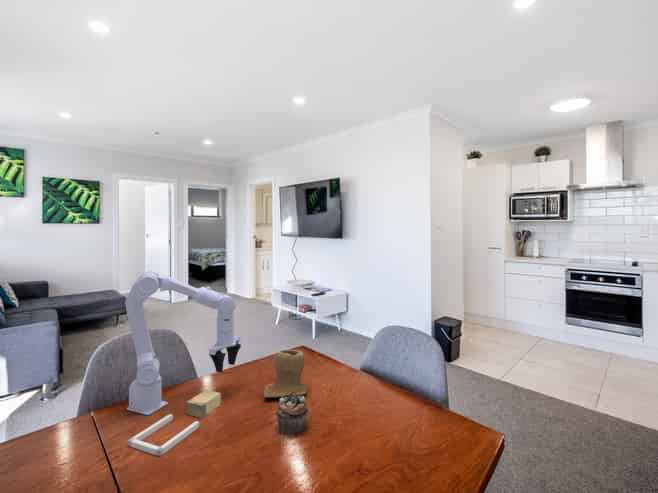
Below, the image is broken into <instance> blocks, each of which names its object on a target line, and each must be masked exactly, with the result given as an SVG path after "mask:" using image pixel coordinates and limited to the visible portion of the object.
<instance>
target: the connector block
mask: <svg viewBox="0 0 658 493" xmlns="http://www.w3.org/2000/svg"><path fill="white" fill-rule="evenodd" d="M221 394H222V393H221V392H218V391H214V390H209V389H204V390H203V391H202V392H200V393H198V394H196V395H195V396H194V397H192V398H191V399H188V400H187V401H186V402H185V406H186V407H185V410H186V411H185V412H186V413H185V415H188V416H192V417H196V418H200V419H203V418H204V417H205V416H207V415H208V414H209V413H211V412H213V411H214V410H215V409H217V408H218V407H219V406H220V405H221V404H222V403H221V401H222V398H221V397H222V396H221Z"/></svg>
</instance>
